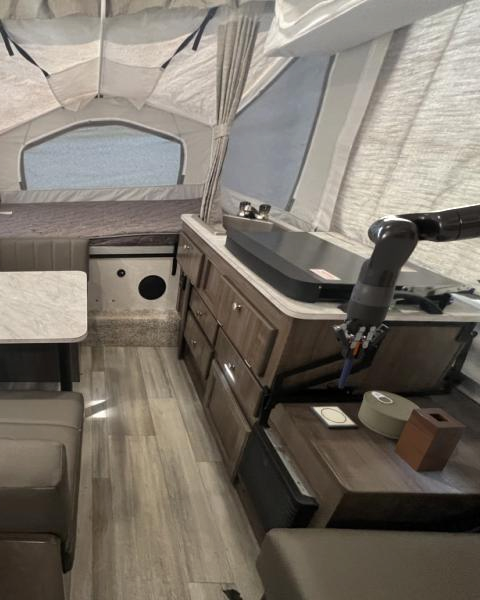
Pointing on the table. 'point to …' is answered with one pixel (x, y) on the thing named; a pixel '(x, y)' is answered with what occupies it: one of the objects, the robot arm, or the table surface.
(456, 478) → the table surface
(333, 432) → the table surface
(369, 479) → the table surface
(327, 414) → the drawing pad
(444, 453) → the pen stand
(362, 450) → the table surface
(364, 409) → the can
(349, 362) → the marker
